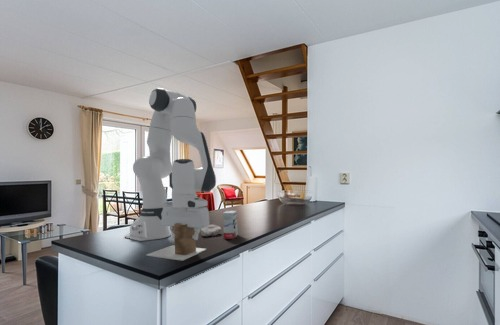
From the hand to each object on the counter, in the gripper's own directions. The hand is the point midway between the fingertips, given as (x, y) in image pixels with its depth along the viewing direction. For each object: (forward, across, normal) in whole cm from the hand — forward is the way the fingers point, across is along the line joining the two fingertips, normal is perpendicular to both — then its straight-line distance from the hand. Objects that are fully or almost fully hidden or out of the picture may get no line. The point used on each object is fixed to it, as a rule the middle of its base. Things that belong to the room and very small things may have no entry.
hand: (185, 238), depth 102 cm
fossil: (+6, -9, +30) cm, 32 cm away
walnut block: (+5, 0, 0) cm, 5 cm away
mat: (+6, -4, 0) cm, 7 cm away
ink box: (+6, +3, +29) cm, 30 cm away
